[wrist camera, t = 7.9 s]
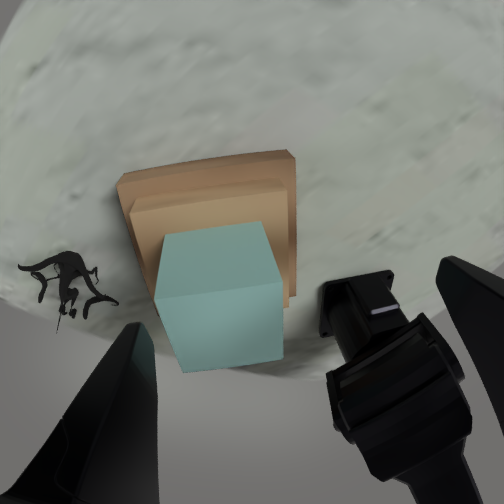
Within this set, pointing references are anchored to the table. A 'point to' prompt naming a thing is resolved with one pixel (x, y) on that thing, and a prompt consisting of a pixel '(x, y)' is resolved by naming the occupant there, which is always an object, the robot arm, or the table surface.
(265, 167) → the plinth
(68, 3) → the table surface
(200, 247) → the teal block
